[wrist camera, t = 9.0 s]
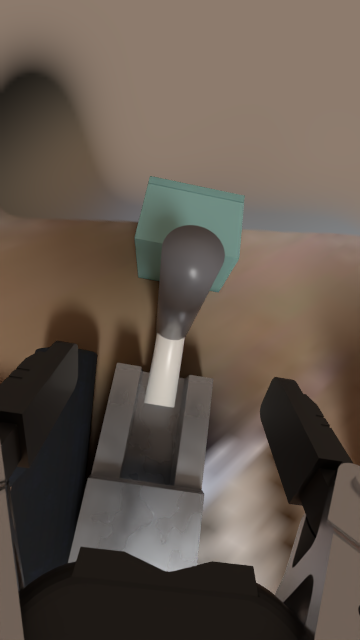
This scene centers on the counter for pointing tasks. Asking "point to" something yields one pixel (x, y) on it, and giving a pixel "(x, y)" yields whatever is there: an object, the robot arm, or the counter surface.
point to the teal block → (186, 223)
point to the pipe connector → (55, 481)
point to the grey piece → (180, 302)
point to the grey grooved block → (148, 473)
